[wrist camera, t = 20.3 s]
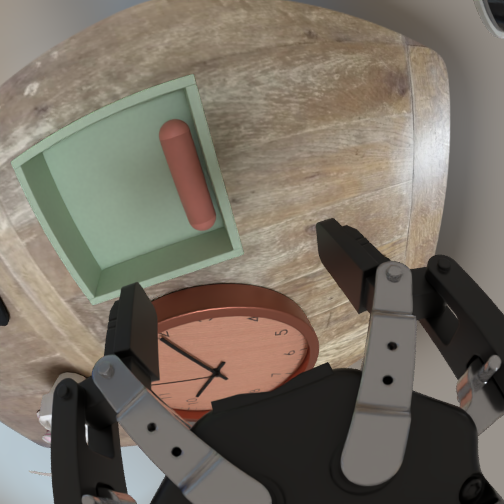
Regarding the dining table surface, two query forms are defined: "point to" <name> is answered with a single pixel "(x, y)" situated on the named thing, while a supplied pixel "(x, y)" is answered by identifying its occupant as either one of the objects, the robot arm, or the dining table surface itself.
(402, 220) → the dining table surface
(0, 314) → the game console
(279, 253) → the dining table surface
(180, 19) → the dining table surface
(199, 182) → the pink capsule cylinder
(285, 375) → the clock
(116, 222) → the bin
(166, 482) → the robot arm
